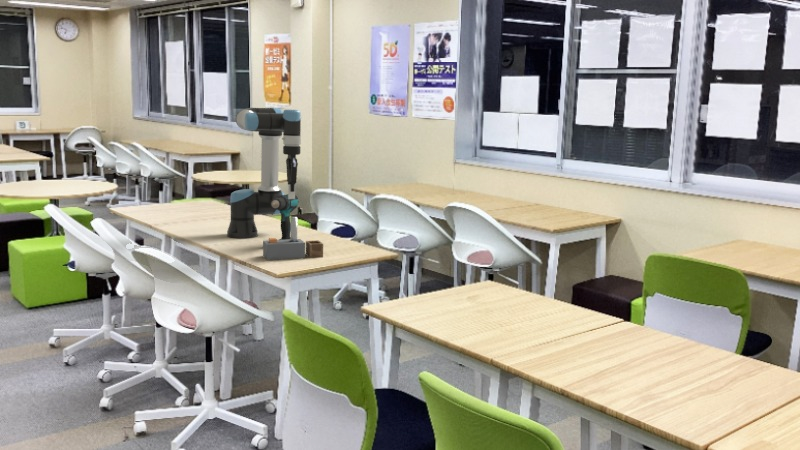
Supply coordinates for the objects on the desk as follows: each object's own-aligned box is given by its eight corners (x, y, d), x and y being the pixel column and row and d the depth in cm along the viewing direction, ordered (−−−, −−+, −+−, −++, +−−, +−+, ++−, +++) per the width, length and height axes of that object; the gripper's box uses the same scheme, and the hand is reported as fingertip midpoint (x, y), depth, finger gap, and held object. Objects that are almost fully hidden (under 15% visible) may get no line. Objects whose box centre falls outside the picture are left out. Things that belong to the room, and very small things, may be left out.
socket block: (263, 255, 323) (263, 240, 322) (300, 253, 329) (300, 238, 328) (267, 260, 315) (267, 244, 314) (305, 258, 321) (305, 242, 320)
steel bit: (289, 255, 325) (289, 216, 321) (296, 255, 326) (296, 216, 322) (291, 257, 322) (291, 217, 319) (297, 256, 323) (298, 217, 320)
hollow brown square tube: (305, 253, 330) (305, 240, 329) (318, 253, 332) (318, 240, 331) (310, 257, 322) (310, 244, 321) (323, 256, 325) (323, 243, 324)
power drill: (282, 253, 330) (282, 199, 325) (263, 251, 332) (263, 197, 327) (301, 242, 355) (301, 191, 351) (284, 240, 357) (284, 190, 352)
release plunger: (268, 255, 321) (268, 238, 319) (275, 255, 322) (275, 237, 321) (270, 257, 318) (270, 239, 317) (276, 256, 319) (276, 239, 318)
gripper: (280, 144, 319) (280, 196, 323) (286, 146, 307) (286, 201, 311) (296, 144, 322) (296, 196, 326) (303, 146, 310) (303, 200, 314)
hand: (291, 198), depth 319 cm, fingers closed
